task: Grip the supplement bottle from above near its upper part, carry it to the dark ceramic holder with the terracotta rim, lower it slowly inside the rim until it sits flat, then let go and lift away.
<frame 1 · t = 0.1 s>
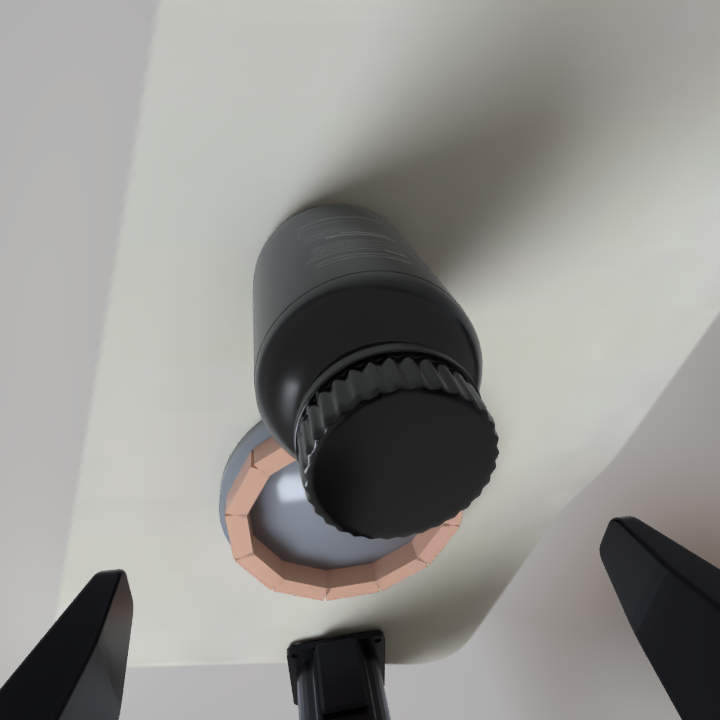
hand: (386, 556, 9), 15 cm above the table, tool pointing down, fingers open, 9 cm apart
supplement bottle: (333, 280, 22), on the table
bottle holder: (343, 490, 28), on the table
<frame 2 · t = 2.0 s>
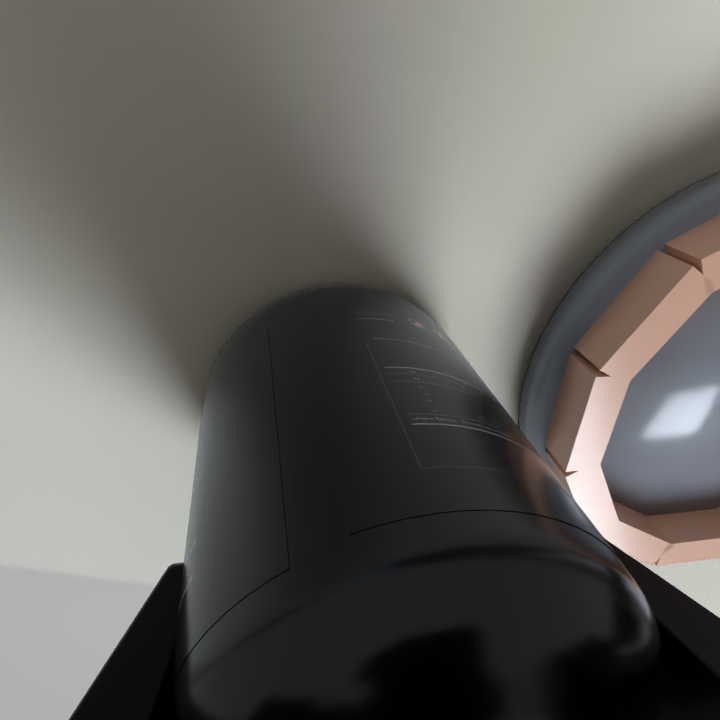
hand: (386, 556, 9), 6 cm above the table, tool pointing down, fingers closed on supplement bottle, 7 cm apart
supplement bottle: (335, 389, 14), on the table, touching gripper
bottle holder: (714, 373, 16), on the table
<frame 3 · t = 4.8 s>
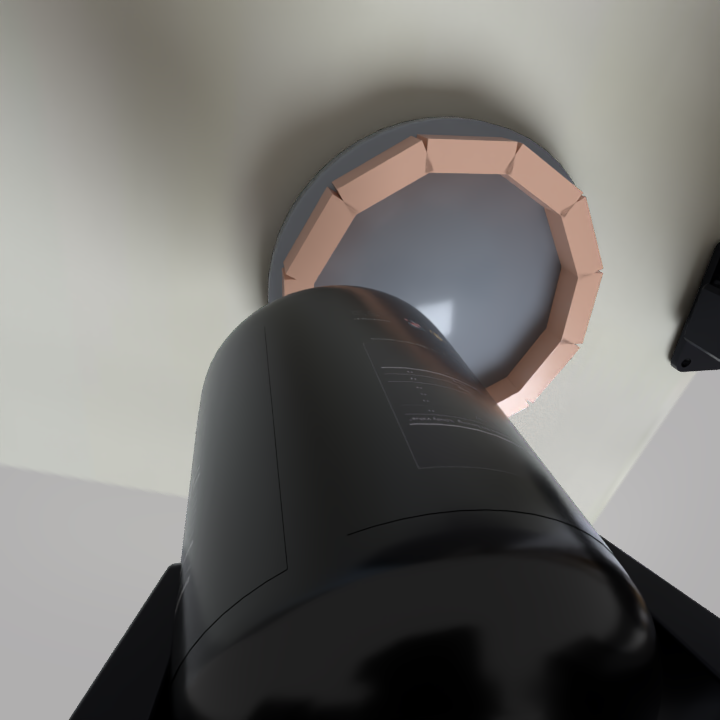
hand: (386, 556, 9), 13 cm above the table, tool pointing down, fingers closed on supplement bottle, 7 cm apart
supplement bottle: (332, 389, 14), point 7 cm above the table, touching gripper
bottle holder: (429, 292, 21), on the table
when the fingers open (7 cm above the table, at t = 7.8 s): supplement bottle stays where it is, resting on bottle holder.
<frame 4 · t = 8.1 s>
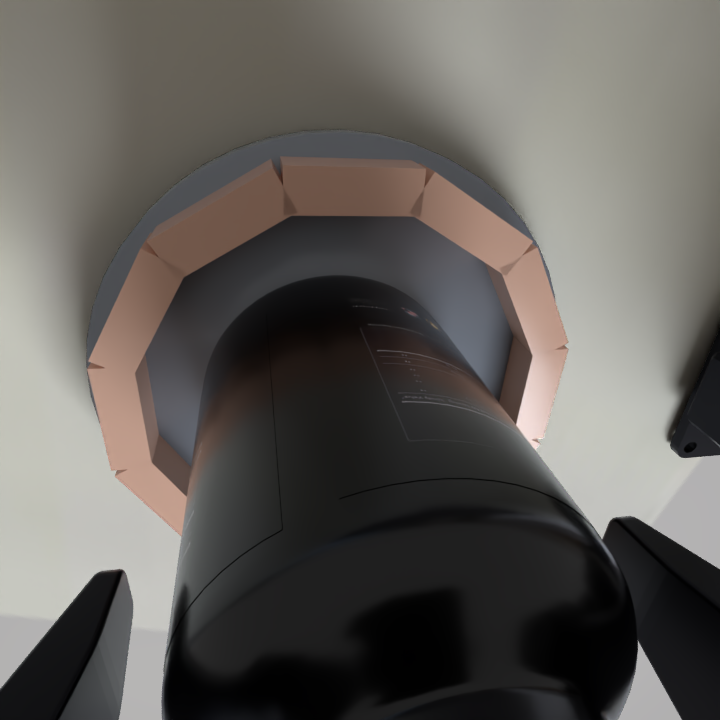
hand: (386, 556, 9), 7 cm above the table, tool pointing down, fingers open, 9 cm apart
supplement bottle: (331, 378, 15), point 1 cm above the table, touching bottle holder
bottle holder: (334, 366, 15), on the table
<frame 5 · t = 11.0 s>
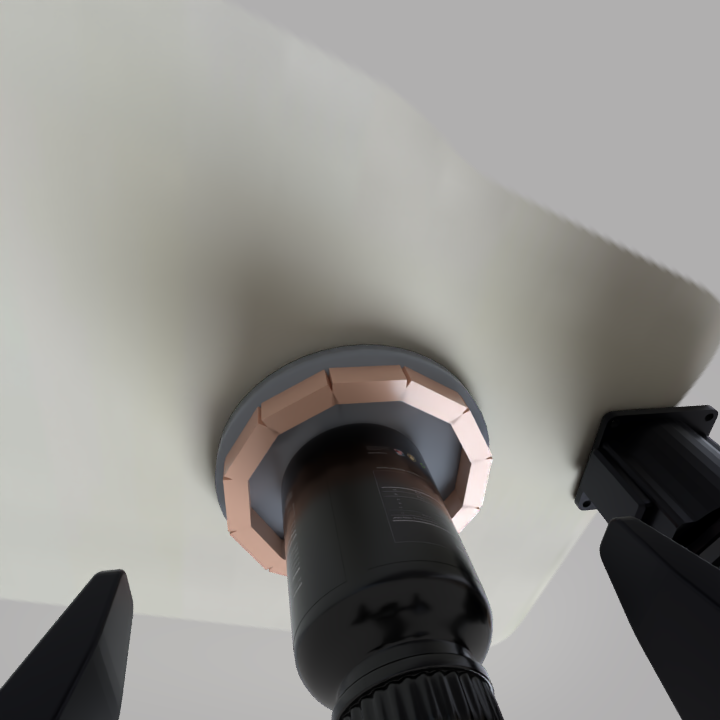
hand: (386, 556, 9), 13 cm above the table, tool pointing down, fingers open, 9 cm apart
supplement bottle: (353, 472, 25), point 1 cm above the table, touching bottle holder
bottle holder: (354, 462, 25), on the table
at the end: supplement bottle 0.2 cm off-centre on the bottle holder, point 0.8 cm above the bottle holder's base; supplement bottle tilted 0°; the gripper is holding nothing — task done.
